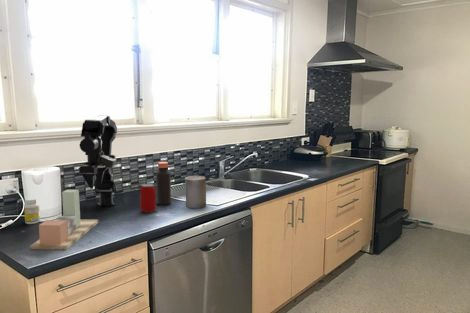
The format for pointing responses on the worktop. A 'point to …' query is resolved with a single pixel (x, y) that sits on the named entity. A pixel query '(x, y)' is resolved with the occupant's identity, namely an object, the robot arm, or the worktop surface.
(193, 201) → the pillar candle
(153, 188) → the beverage can
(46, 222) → the socket block
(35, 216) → the supplement bottle
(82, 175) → the robot arm
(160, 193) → the vinegar
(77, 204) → the pale green slab
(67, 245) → the base board
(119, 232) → the worktop surface
